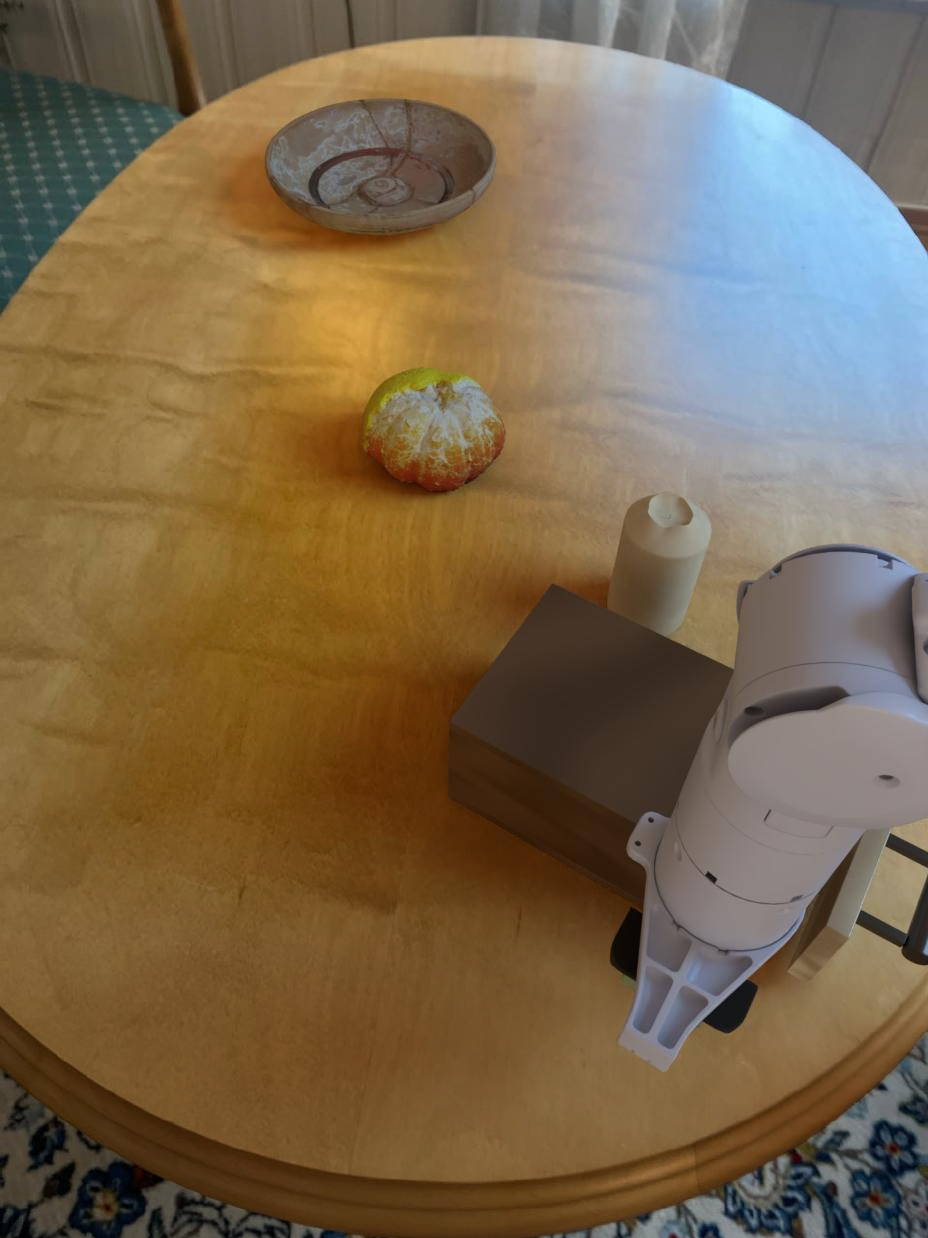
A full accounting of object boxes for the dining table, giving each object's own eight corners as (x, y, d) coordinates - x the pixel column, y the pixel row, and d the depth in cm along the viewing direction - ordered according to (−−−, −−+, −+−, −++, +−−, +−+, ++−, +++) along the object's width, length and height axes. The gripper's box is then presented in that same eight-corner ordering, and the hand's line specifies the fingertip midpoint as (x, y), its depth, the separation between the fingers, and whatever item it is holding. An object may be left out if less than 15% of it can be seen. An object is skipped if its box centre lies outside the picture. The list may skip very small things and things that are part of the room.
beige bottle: (699, 626, 67) (733, 527, 59) (628, 649, 66) (654, 551, 58) (660, 570, 70) (688, 468, 63) (592, 591, 69) (612, 490, 61)
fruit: (359, 503, 73) (351, 403, 69) (370, 444, 82) (364, 352, 77) (507, 503, 73) (509, 402, 69) (502, 444, 82) (504, 351, 77)
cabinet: (730, 761, 61) (766, 684, 54) (650, 914, 55) (680, 848, 48) (541, 665, 65) (552, 582, 58) (447, 796, 59) (448, 721, 52)
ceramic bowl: (231, 179, 103) (223, 131, 99) (420, 124, 111) (419, 78, 108) (337, 286, 91) (333, 237, 88) (539, 216, 100) (543, 169, 96)
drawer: (939, 868, 56) (992, 814, 50) (885, 1029, 50) (938, 987, 45) (673, 732, 61) (695, 670, 56) (597, 864, 55) (614, 809, 50)
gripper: (730, 639, 39) (669, 797, 50) (559, 938, 32) (530, 1049, 42) (902, 719, 37) (800, 866, 48) (763, 1061, 30) (678, 1145, 40)
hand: (682, 957), depth 45 cm, fingers closed on block, 4 cm apart
